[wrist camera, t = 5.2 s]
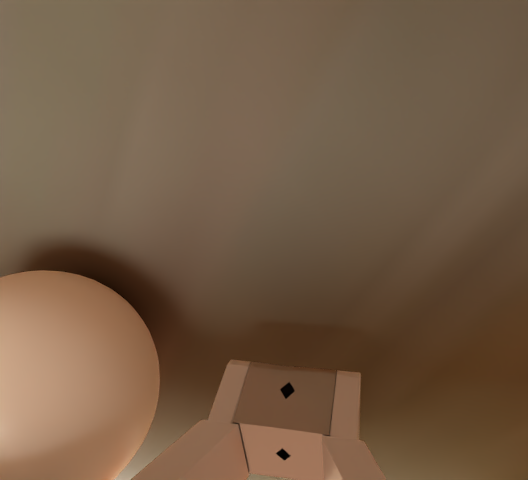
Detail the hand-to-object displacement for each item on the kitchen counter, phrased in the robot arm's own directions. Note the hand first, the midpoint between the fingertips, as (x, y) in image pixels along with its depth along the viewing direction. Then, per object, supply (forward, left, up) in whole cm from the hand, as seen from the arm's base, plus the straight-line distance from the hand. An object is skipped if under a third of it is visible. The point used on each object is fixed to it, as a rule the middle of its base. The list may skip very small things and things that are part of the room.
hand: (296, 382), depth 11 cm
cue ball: (+6, 0, +1) cm, 6 cm away
